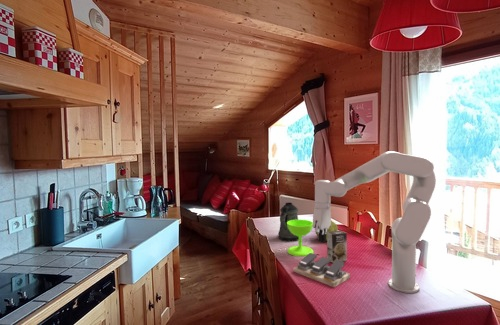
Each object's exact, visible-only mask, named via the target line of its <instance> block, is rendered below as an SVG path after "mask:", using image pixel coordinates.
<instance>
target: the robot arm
mask: <svg viewBox="0 0 500 325" xmlns="http://www.w3.org/2000/svg"><path fill="white" fill-rule="evenodd" d="M434 166H435V165H434V163H433V162H432V160H430V159H429V158H428V157H423V156H419V155H418V156H417V155H413V154H412V155H411V154H406V153H405V154H404V153H400V152H398V151H394V150H393V151H392V150H391V151H390V150H389V151H385V152H383V153H382V154H380V155H378V156H377V157H374V158H372V159H371V160H369V161H367V162H366V163H364V164H362V165H360V166H357V168H355V169H353V170H351V171H350V172H347V173H345V174H343V175H342V176H340V177H337V179H334V180H333V181H330V180H328V179H327V180H326V179H317V180H316V181H315V182H314V209H313V215H312V222H313V228H312V229H314V230H315V231H314V232H315V233H316V232H318V234H319V237H318V242H320V243H322V244H323V243H324V244H325V243H327V240H326V234H327V229H328V228H329V226H331V220H332V211H331V204H332V203H331V201H332V200H331V199H332V198H331V197H336V198H341V197H344V196H345V195H346V194H347V191H350V190H351V189H353V188H356V187H358V186H360V185H361V184H367V183H370V182H373V181H375V180H377V179H378V178H380V177H382V176H384V175H386V174H388V173H390V172H393V173H396V174H401V175H405V176H406V175H407V176H411V177H413V178H412V180H413V181H412V183H411V187H410V190H409V192H408V194H407V196H406V198H405V199H404V201H403V203H402V211H403V214H402V216H401V217H398V218H396V219H394V221H393V222H392V224H391V239H392V240H391V247H392V248H391V278H390V279H389V280H388V283H387V284H388V286H389V287H390V288H391V289H392V290H394V291H397V292H400V293H404V294H405V293H407V294H414V293H417V292H419V291H420V285H419V284H418V283H417V282H416V277H417V274H416V273H417V271H416V269H417V267H416V265H417V264H416V260H417V259H416V258H417V256H416V255H417V246H416V245H417V243H418V242H419V241H420V239H421V237H422V236H423V234H424V232H425V229H426V228H427V226H428V224H429V221H430V219H431V215H432V210H431V207H430V205H429V202H430V200H431V198H432V197H433V196H432V195H433V193H434V191H435V188H436V181H437V180H436V175H435V172H434ZM315 228H316V229H315Z"/></svg>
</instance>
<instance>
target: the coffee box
mask: <svg viewBox="0 0 500 325" xmlns="http://www.w3.org/2000/svg"><path fill="white" fill-rule="evenodd" d="M347 240H348V232H345V231H342V230H338V231H330V232H327V240H326V245H327V246H326V248H327V249H326V254H327V256H326V258H328V259H330V262H331V263H332V264H333V263H334V262H335V261H336V260H337V261H340V262H343V263H344V262H347V261H348V258H347V256H348V250H347V248H348V247H347V246H348V245H347Z"/></svg>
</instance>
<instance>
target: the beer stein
mask: <svg viewBox="0 0 500 325" xmlns="http://www.w3.org/2000/svg"><path fill="white" fill-rule="evenodd" d="M298 212H299V209H298V208H297V207H296V206H295V205H294V204H293V202H285V203H284V205H283V206H282V207H281V208H280V213H281V214H280V216H279V222H280V225H279V231H278V233H277V235H278V239H280V241H284V242H297V241H298V242H299V236H296V235H294V234H292V233H291V232H290V230H289V229H288V227H287V222H288V221H290V220H299V216H298Z"/></svg>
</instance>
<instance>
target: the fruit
mask: <svg viewBox="0 0 500 325" xmlns="http://www.w3.org/2000/svg"><path fill="white" fill-rule="evenodd" d="M315 229H316V228H314V230H315ZM330 231H339V230H338V225H337V223H336V222H334V221H333V220H332V219H331V226H329V228H328V229H327V232H330ZM315 234H316V236H317V237H318V238H319V234H318V232H315ZM326 241H327V234H326Z"/></svg>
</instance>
